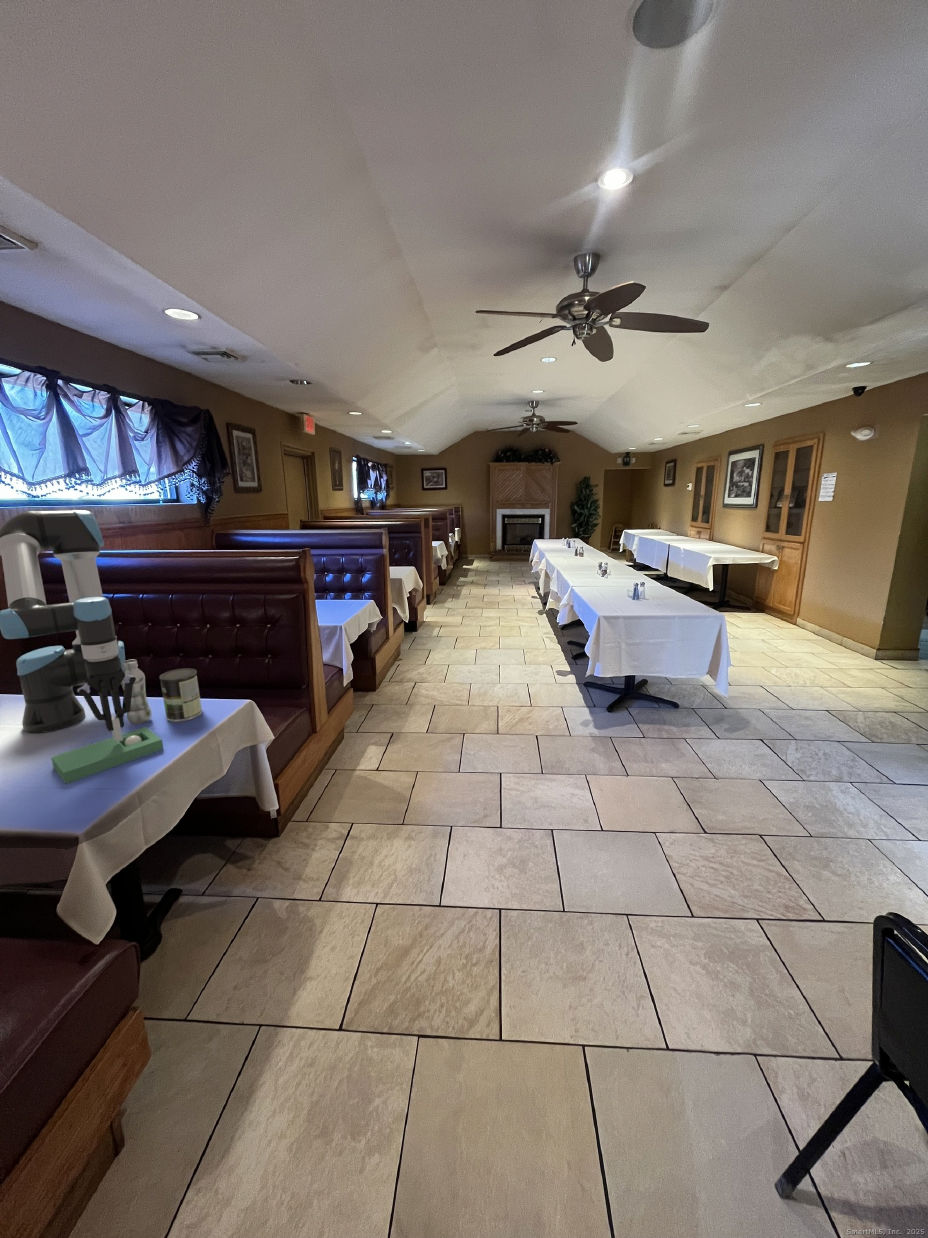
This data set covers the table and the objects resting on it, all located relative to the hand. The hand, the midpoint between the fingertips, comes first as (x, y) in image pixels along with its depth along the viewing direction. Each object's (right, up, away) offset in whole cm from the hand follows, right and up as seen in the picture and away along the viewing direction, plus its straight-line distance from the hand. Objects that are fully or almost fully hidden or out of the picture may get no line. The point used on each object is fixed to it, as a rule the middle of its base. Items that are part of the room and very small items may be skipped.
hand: (118, 739), depth 134 cm
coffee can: (+4, +2, +25) cm, 26 cm away
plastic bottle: (-7, 0, +20) cm, 21 cm away
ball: (+2, -2, +3) cm, 4 cm away
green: (-2, -5, -1) cm, 5 cm away
